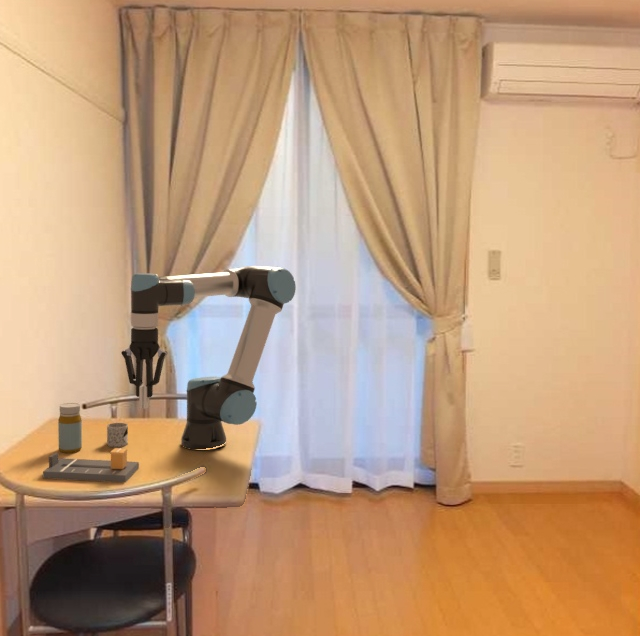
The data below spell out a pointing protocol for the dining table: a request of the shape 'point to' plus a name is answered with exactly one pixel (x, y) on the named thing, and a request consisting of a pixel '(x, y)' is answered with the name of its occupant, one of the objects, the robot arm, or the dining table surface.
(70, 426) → the bottle
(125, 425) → the mug
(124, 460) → the fader
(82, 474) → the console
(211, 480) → the dining table surface
